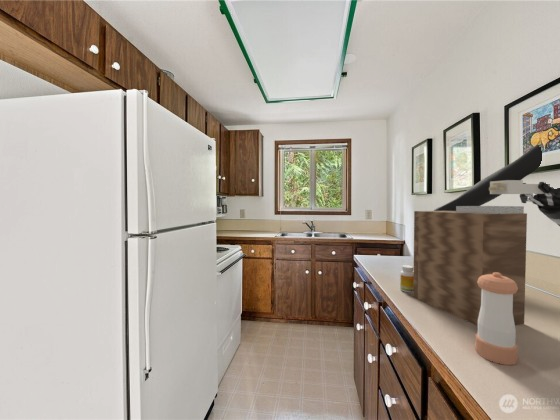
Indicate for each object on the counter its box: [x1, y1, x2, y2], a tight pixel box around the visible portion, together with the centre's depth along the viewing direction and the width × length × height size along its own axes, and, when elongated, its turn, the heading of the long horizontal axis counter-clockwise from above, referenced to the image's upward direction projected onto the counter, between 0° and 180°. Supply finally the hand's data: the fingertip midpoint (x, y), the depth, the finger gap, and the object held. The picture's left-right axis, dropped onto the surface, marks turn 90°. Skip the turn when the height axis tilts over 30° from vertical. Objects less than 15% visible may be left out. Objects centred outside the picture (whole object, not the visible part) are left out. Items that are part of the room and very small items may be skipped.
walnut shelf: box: [412, 210, 528, 327], centre depth 82 cm, size 26×14×32 cm, turn 16°
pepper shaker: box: [474, 272, 518, 366], centre depth 57 cm, size 7×7×19 cm
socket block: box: [456, 205, 525, 214], centre depth 75 cm, size 11×12×2 cm
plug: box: [489, 179, 550, 195], centre depth 79 cm, size 5×22×4 cm, turn 106°
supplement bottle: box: [399, 264, 414, 294], centre depth 99 cm, size 5×5×10 cm
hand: (531, 184), depth 80 cm, fingers closed on plug, 4 cm apart
